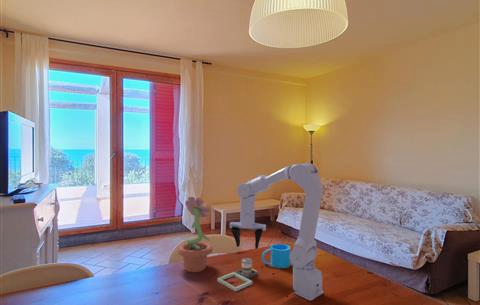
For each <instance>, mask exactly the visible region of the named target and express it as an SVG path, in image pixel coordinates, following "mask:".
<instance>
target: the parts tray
mask: <svg viewBox="0 0 480 305" xmlns="http://www.w3.org/2000/svg"><path fill="white" fill-rule="evenodd" d="M233 277H235V278H237V279H239V280H241V281H242V282H243V281H244V283H243V284H240V285H237V286H234V285H232V284H231V283H229V282H227V281H225V280H226V279H229V278H233ZM216 280H217V282H218V283H219V284H221V285H223V286H225V287H226V288H228V289H230V290H232V291H233V292H238V291H240V290H242V289H244V288H247V287H249V286H252V285H253V280H251V279H250V278H249V279H247V278H245V277H243V276H241V275H239V274H237V273H236V271H233V272H230V273H227V274H225V275H223V276H220V277H217V279H216Z"/></svg>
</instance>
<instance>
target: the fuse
mask: <svg viewBox="0 0 480 305" xmlns="http://www.w3.org/2000/svg"><path fill="white" fill-rule="evenodd" d="M241 269H242V274H244V275H246V276H247V275H250V274H252V269H253V259H252V258H251V257H250V258H249V257H245V258H241Z"/></svg>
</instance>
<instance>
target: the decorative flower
mask: <svg viewBox="0 0 480 305" xmlns="http://www.w3.org/2000/svg"><path fill="white" fill-rule="evenodd" d="M204 203H205V201H204V200H203V199H202V198H200V197H195V196H189V197H187V200H185V206H186V208H187V210H188V211H189V212H190V214H191V215H192V216H194V222H193V223H192V225H191V229H194V228H195V229H196V232H197V234H198V236H197V237H195V238H189V239H187V242H184V243H182V244H181V245H179V246H178V249H177V252H178V254H179V255H180V256H182V257H183V268H184V270H185V271H186V272H188V273H199V272H202V271H205V270H206V267H207V261H208V256H209V255H210V254H212V253H213V246H212V244H210V243H208V242H204V241H202V239H204V240H206V241H209V242H210V239H209V238H208V237H207V236H206V235H205V234H203V230H202V227H201V225H200V224H201V223H200V218H203V217H204V218H207V217H208V216H209V213H210V212H211V210H210V208H209V207H207V206H202V204H204ZM183 241H186V238H185V239H184V238H183Z"/></svg>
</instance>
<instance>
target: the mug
mask: <svg viewBox="0 0 480 305" xmlns="http://www.w3.org/2000/svg"><path fill="white" fill-rule="evenodd" d="M269 252H270V262H267V261H266V259H265V255H266V253H269ZM290 253H291V246H290V245H288V244H283V243H275V244H271V245H270V248H268V249H265V251H263V252H262V255H261V260H262V262H263V263H264V264H265V265H268V266H269V265H270V266H272V267H274V268H278V269H285V268H286V269H287V268H289V267H290V266H291V261H290Z"/></svg>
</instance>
